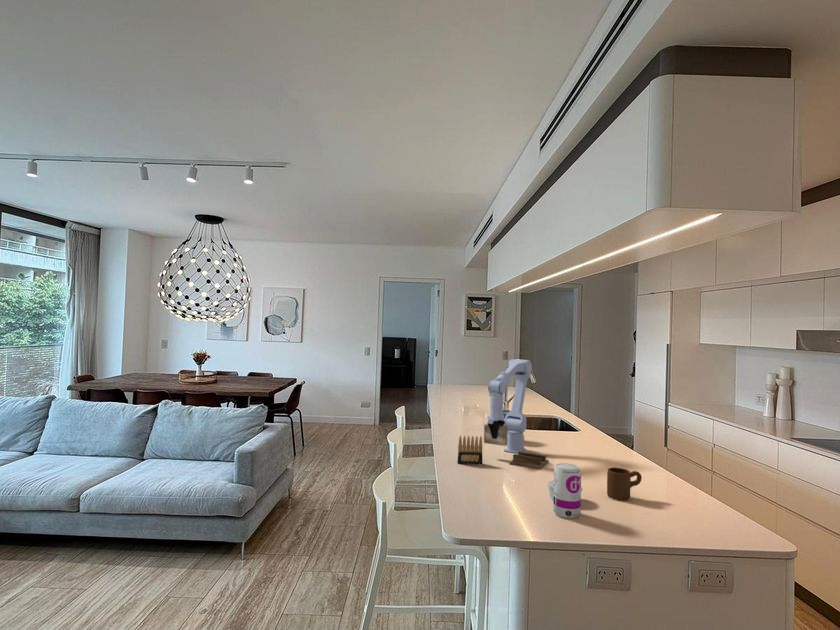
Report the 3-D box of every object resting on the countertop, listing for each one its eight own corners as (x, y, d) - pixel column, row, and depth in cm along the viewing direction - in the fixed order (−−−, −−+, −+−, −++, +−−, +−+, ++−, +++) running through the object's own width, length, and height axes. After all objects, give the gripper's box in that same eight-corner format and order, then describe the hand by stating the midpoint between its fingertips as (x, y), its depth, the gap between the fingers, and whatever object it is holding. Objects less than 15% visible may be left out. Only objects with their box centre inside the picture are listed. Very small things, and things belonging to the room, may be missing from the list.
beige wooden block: (486, 441, 222) (486, 424, 222) (507, 444, 216) (507, 426, 217) (483, 442, 219) (484, 425, 219) (504, 446, 214) (505, 427, 214)
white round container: (588, 505, 162) (588, 489, 162) (558, 507, 159) (558, 491, 159) (570, 493, 173) (570, 478, 173) (541, 495, 170) (542, 480, 170)
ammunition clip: (482, 463, 209) (482, 435, 210) (482, 464, 208) (483, 436, 208) (457, 462, 210) (458, 434, 210) (457, 463, 208) (458, 435, 208)
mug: (635, 493, 174) (636, 467, 175) (646, 501, 167) (647, 473, 167) (603, 493, 174) (603, 467, 174) (612, 501, 166) (613, 473, 166)
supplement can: (585, 518, 150) (586, 469, 151) (562, 520, 148) (563, 470, 148) (570, 508, 158) (571, 462, 158) (548, 510, 156) (549, 463, 156)
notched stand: (520, 457, 221) (520, 449, 221) (548, 462, 214) (548, 454, 214) (509, 464, 209) (509, 456, 209) (539, 469, 202) (539, 461, 202)
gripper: (494, 404, 226) (493, 433, 226) (481, 408, 214) (481, 439, 214) (508, 406, 223) (508, 435, 222) (496, 410, 210) (496, 441, 210)
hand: (495, 437), depth 218 cm, fingers closed on beige wooden block, 3 cm apart
